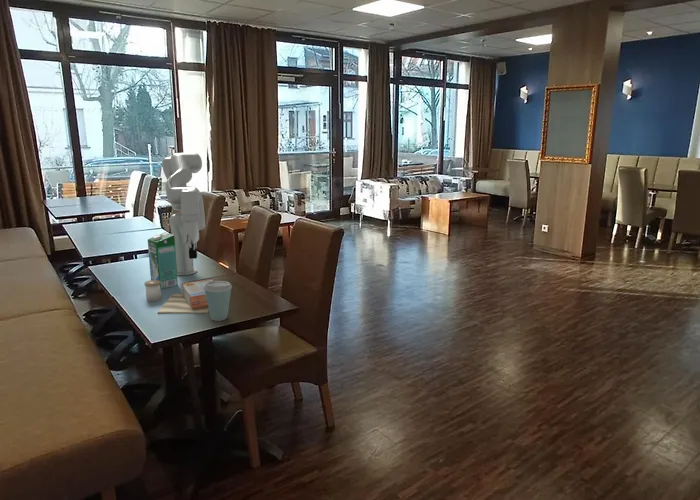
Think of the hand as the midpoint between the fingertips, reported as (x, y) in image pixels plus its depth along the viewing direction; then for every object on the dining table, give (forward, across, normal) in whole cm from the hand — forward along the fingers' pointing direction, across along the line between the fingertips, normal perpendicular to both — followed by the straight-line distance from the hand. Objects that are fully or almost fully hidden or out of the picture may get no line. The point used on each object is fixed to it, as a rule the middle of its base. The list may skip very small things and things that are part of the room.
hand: (193, 258), depth 220 cm
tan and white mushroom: (+18, +5, -17) cm, 25 cm away
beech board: (+17, +12, 0) cm, 21 cm away
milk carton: (+18, -15, -18) cm, 29 cm away
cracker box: (+14, -2, +1) cm, 14 cm away
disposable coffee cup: (+18, +29, +16) cm, 38 cm away
